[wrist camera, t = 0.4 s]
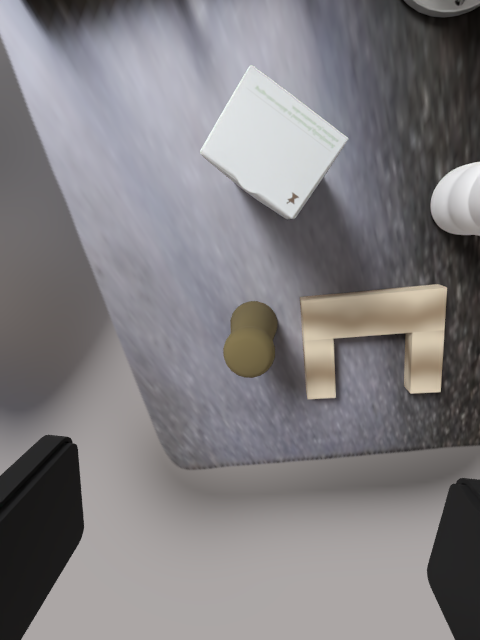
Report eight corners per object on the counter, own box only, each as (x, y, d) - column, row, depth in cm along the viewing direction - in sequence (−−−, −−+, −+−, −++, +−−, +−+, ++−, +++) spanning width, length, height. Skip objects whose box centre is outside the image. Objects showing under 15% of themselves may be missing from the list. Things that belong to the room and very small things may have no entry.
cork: (287, 324, 41) (293, 359, 31) (254, 355, 43) (248, 398, 32) (253, 291, 40) (247, 315, 30) (220, 323, 42) (204, 358, 32)
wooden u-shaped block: (299, 296, 40) (301, 300, 38) (438, 284, 38) (446, 287, 36) (306, 391, 44) (307, 399, 42) (432, 384, 42) (440, 392, 40)
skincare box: (322, 172, 36) (358, 138, 21) (285, 224, 38) (295, 226, 23) (260, 125, 35) (252, 55, 20) (226, 180, 37) (196, 153, 22)
